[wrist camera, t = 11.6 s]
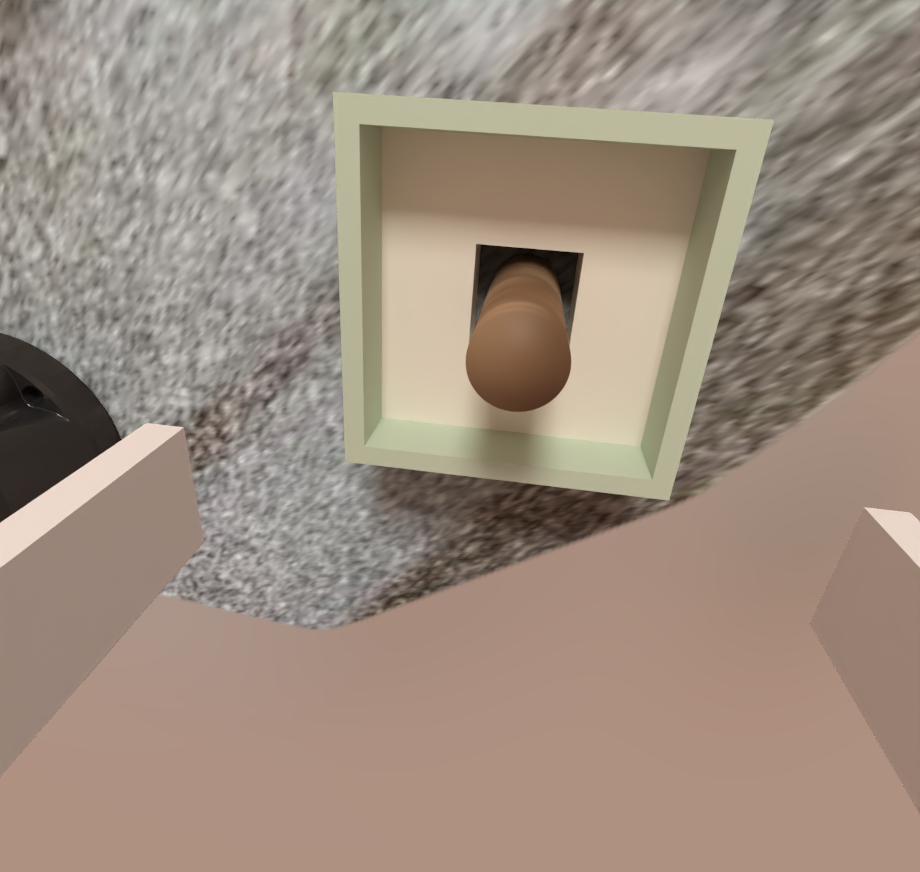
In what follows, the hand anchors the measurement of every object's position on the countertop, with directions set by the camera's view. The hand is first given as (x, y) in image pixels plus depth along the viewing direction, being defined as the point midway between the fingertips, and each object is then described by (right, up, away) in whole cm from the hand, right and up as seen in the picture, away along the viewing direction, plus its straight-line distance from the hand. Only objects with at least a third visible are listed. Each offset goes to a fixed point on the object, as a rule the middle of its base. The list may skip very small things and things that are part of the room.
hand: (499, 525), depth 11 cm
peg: (+3, +10, +19) cm, 21 cm away
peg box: (+3, +10, +19) cm, 21 cm away
